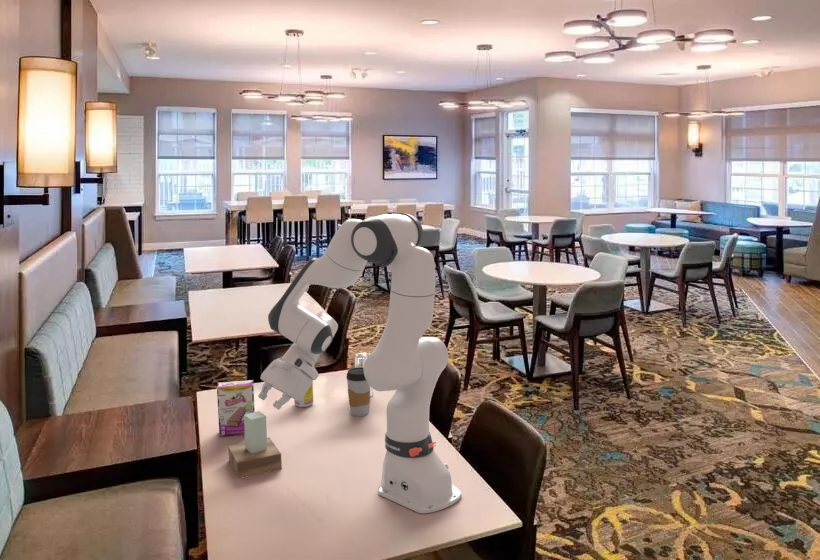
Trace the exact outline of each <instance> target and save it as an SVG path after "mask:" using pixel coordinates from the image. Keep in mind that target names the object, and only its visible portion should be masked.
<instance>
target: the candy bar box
mask: <svg viewBox="0 0 820 560" xmlns="http://www.w3.org/2000/svg"><path fill="white" fill-rule="evenodd" d="M254 388H255V385H254V379H252V380H251V379H249V380H235V381H222V382H217V386H216V396H217V413H218V414H217V415H218V417H217V418H218V433H219V437H228V436H235V435H236V436H237V435H239V436H240V435H245V428H244V415H245V414H249V413H253V412H256V409H255V389H254Z"/></svg>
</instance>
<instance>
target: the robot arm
mask: <svg viewBox="0 0 820 560" xmlns="http://www.w3.org/2000/svg"><path fill="white" fill-rule="evenodd" d="M423 237H424V230H423V227H422V223H421V222H420V221H419V219H418V218H417V217H416V216H414V215H413V214H412V215H411V214H409V213H404V212H398V213H396V214H395V213H391V214H390V213H385V214H379V215H376V216H372V217H367V218H365V219H359V218H358V219H357V218H349V219H346V220H344V222H342V224H341V225H340V226H339V227H338V229H337V231H336V232H335V233H334V235H333V236H332V238H331V239H330V242H329V244H328V246H327V247H326V250H325V252H324V253H323V255H322V256H320V257H312V258H311V259H309V260H308V261H307V262H306V264H304V266H303V267H302V268H301V269H300V271H299V272H298V273H297V275H296V276H295V278H293V280H292V282H291V283H290V284H289V286H288V287H287V289H286V290H285V292H284V293H283V294H282V296H281V297H280V299H279V300H278V301H277V302H276V303H275V305H273V307H272V308H271V310H270V311H269V313H268V315H267V320H268V325H269V328H270V330H271V331H274V332H275V333H277V334H280V335H282V336H283V337H284V338H286V339H288V340H289V341H291V342H292V344H291V345H290V346H289V347H288V349H287V350H286V352H285V354H283V356H280V357H278V358H276V359H274V360H273V361H271V362H270V364H268V366H267V367H266V368H265V369H264V370H263V372H262V373H261V375H260V377H259V378H260V380H261V381H262V382H264V383H263V385H262V387H261V390H260V393H259V394H258V395H257V396H258V398H259V399H260V400H262V401H265V400H266V399H267V398H268V393H269V390H271V389H272V388H274V389H276V390H277V391H279V392H281V393H282V394H281V397H280V398H278V400H274V401H275V402H274V403H273V404H272V406H273V407H274V409H276V410H280V409H281V408H282V406H283V405H285V404H286V403H288V402H289V401H290V400H291V399H293V400H294V399H295V400H296V401H298V400H300V399H301V398H302V397H303V396H304V395H305V394H306V392H307V391H308V389H309V388H310V386H311V385H312V382H313V381H316V380H317V379H318V377H319V373H318V370H317V369H316V367H315V365H316V364H317V362H318V359H319V357H320V356H321V355H322V354H324V353H326V351H327V350H328V349H329V347H330V346H331V344H332V342H333V340H334V337H335V334H336V333H337V331H338V330H339V329H338V328H339V326H338V323H337V321H336V319H334V317H332V316H331V315H329V314H328V313H325V312H318V313H317V314H314V313H312V312H311V311H310V310H308V309H306V308H305V307H304V306H302V304H301V303H300V300H301V298H302V297H303V295H304V293H306V290H307V289H308V288H309V286H310V285H318V286H323V287H326V288H330V289H344V288H348V287H351V286H353V285H354V284H356V283H357V281H358V280H359V278H360V277H361V275H362V274H363V273H364V271H365V267H366V266H367V263H369V262H370V263H373V264H375V266H378V267H379V268H386V267H389V269H390V271H391V273H390V274H391V282H390V295H389V305H388V315H387V320H386V324H385V327H384V329H383V332H382V334H381V335H380V338H379V340H378V342H377V345H376V346H375V347H374V349H373V350H372V352H371V353H370V355H369V356H368V357H367V358H366V360H365V363H364V376H365V379H366V381H367V383H368V384H369V385H370V386H371V387H372V390H373V391H374V390H375V391H377V392H390V391H395V392H394V394H393V396H392V397H391V398H390V399H389V400H388V403H387V405H386V411H385V412H386V431H385V436H384V446H385V447H384V448H385V450H386V452H385V455H384V459H383V463H382V472H381V473H382V474H381V484H380V486H379V488H378V491H377V492H378V493H377V494H378V495H379V496H381V497H383V498H385V499H388V500H390V501H392V502H394V503H397V504H399V505H401V506H403V507H404V508H406V509H407V508H408V509H409V510H410V511H414V512H416V513H418V514H429V513H435V512H438V511H441V510H443V509H446V508H448V507H451V506H452V505H454V504H456V503H457V502H458V501H460V499H461V498H462V492H461V490H460V489H458V488H457V487H456V486H455V485H453V482H452V476H451V473H450V470H449V466H448V464H447V462H443V461H442V460H441V458H440V457H439V456H438V454H437V453H436V451H435V448H434V447H436V443H437V442H436V441H434V442H433V437H432V434H431V432H430V407H431V406H430V405H431V401H432V397H433V393H434V390H435V388H436V385H437V382H438V380H439V377H440V376H441V374H442V372H443V371H444V370H445V368H446V367H447V365H448V362H449V351H448V348H447V346H446V344H445V343H444V342H443V341H442V339H440V338H438V337H436V336H423V335H424V334H425V333H426V331H427V330H428V329H429V328H430V326H431V325H432V322H433V318H434V316H433V315H434V307H435V306H434V305H435V297H436V265H435V259H434V255H433V253H432V252H431V251H430V250H428V249H427V248H424V247H422V246H420V245H421V244H422V240H423Z"/></svg>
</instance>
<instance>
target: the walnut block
mask: <svg viewBox="0 0 820 560" xmlns="http://www.w3.org/2000/svg"><path fill="white" fill-rule="evenodd" d="M227 448H228V461H229V463H230V465H231V468H232V469H233V471H234V473H235V475H236V477H237V476H238V477H237V478H240V479H243V478H242V477H244V478H247V477H246V476H249V477H252V475H253V476H257V475H261V473H262V474H265V472H266V473H269V471H270V472H274V471H279V470H282V469H283V466H282V465H283V463H282V453H281V451H280V450H279V449H278V447H277V446H276V444H275V443H274V442H273V440H272V439H271V437H270V436H269V437H268V436H267V450H263V451H260V452H256V453H253V454H252V453H251V452H249V451H248V450H247V449H246V448H245V441H244V442H241V443H236V444H231V445H228V446H227ZM278 469H279V470H278Z"/></svg>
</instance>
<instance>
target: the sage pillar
mask: <svg viewBox="0 0 820 560" xmlns="http://www.w3.org/2000/svg"><path fill="white" fill-rule="evenodd" d="M244 428H245V434H244V442H245V448H246V449H247V450H248V451H249V452H251V453H252V454H253V453H256V452H260V451H263V450H267V438H268V436H267V435H268V434H267V428H268V427H267V415H266V414H264V413H262V412H261V411H259V410H257V411H255V412H253V413H249V414H245V415H244Z"/></svg>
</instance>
